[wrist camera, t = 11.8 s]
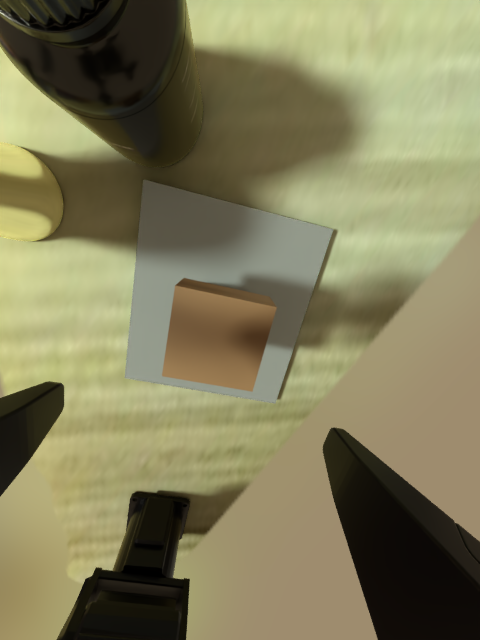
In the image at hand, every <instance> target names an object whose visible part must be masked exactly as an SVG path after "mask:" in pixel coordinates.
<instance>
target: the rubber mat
mask: <svg viewBox="0 0 480 640" xmlns="http://www.w3.org/2000/svg"><path fill="white" fill-rule="evenodd" d="M332 232H333V229H330V228H326V227H323V226H319V225H315V224H311V223H307V222H304V221H300V220H296V219H292V218H288V217H285V216H281V215H277V214H273V213H269V212H266V211H262V210H258V209H254V208H250V207H247V206H243V205H239V204H235V203H231V202H228V201H224V200H220V199H216V198H212V197H209V196H205V195H201V194H197V193H193V192H190V191H186V190H182V189H178V188H174V187H171V186H167V185H163V184H159V183H155V182H152V181H148V180H144V179H143V189H142V199H141V210H140V221H139V231H138V242H137V253H136V263H135V274H134V285H133V295H132V306H131V317H130V327H129V338H128V349H127V359H126V370H125V378H127V379H133V380H139V381H145V382H151V383H157V384H163V385H169V386H175V387H181V388H186V389H192V390H198V391H204V392H210V393H216V394H222V395H228V396H234V397H240V398H246V399H252V400H257V401H263V402H269V403H276V400H277V397H278V394H279V391H280V388H281V385H282V382H283V379H284V376H285V373H286V370H287V367H288V364H289V361H290V358H291V355H292V352H293V349H294V346H295V343H296V340H297V337H298V334H299V331H300V328H301V325H302V322H303V319H304V316H305V313H306V310H307V307H308V304H309V301H310V298H311V295H312V292H313V289H314V286H315V283H316V280H317V277H318V274H319V271H320V268H321V265H322V262H323V259H324V256H325V253H326V250H327V247H328V244H329V241H330V238H331V235H332ZM183 278H187V279H192V280H196V281H201V282H205V283H210V284H215V285H219V286H224V287H228V288H233V289H237V290H242V291H247V292H251V293H256V294H260V295H265V296H269V297H270V298H271V299H272V301H273V302H274V304H275V305H276V307H277V309H276V312H275V316H274V319H273V323H272V326H271V329H270V333H269V336H268V340H267V343H266V347H265V350H264V354H263V357H262V361H261V364H260V367H259V371H258V374H257V378H256V381H255V385H254V388H253V392H251V391H245V390H239V389H234V388H228V387H222V386H216V385H210V384H204V383H198V382H193V381H187V380H181V379H175V378H169V377H163V376H162V372H163V365H164V358H165V351H166V344H167V337H168V331H169V324H170V317H171V310H172V303H173V296H174V290H175V285H176V284H177V283H178V282H180V281H181V280H182V279H183Z"/></svg>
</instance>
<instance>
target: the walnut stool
mask: <svg viewBox="0 0 480 640" xmlns="http://www.w3.org/2000/svg"><path fill="white" fill-rule="evenodd" d="M276 309H277V307H276V305H275V304H274V302H273V301H272V299H271V298H270V297H269V296H265V295H260V294H256V293H251V292H247V291H242V290H237V289H233V288H228V287H224V286H219V285H215V284H210V283H205V282H201V281H196V280H192V279H187V278H183V279H182V280H181V281H180V282H178V283H177V284H176V285H175V290H174V296H173V303H172V310H171V317H170V324H169V331H168V337H167V344H166V351H165V358H164V365H163V372H162V376H163V377H169V378H175V379H181V380H187V381H193V382H198V383H204V384H210V385H216V386H222V387H228V388H234V389H239V390H245V391H251V392H253V388H254V385H255V381H256V378H257V374H258V371H259V367H260V364H261V361H262V357H263V354H264V350H265V347H266V343H267V340H268V336H269V333H270V329H271V326H272V323H273V319H274V316H275V312H276Z"/></svg>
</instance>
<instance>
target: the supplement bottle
mask: <svg viewBox="0 0 480 640" xmlns="http://www.w3.org/2000/svg"><path fill="white" fill-rule="evenodd" d="M0 47H1V49H2V50H3V51H4V53H5V54H6V55H7V57H8V58H9V59H10V61H11V62H12V63H13V64H14V66H15V67H16V68H17V69H18V70H19V71H20V72H21V73H22V74H23V75H24V76H25V77H26V78H27V79H28V80H29V81H30V82H31V83H32V84H33V85H34V86H35V87H36V88H38V89H39V90H40V91H41V92H42V93H43V94H45V95H46V96H47V97H48V98H49V99H51V100H52V101H53V102H54V103H56V104H57V105H58V106H60V107H61V108H62V109H63V110H65V111H66V112H67V113H69V114H70V115H71V116H73V117H74V118H75V119H76V120H78V121H79V122H80V123H82V124H83V125H84V126H85V127H87V128H88V129H89V130H91V131H92V132H93V133H94V134H96V135H97V136H98V137H100V138H101V139H102V140H103V141H105V142H106V143H107V144H109V145H110V146H111V147H112V148H114V149H115V150H116V151H118V152H119V153H121V154H122V155H123V156H125V157H126V158H128V159H129V160H131V161H133V162H135V163H137V164H140V165H143V166H147V167H165V166H169V165H172V164H174V163H176V162H178V161H179V160H181V159H182V158H184V157H185V156H186V155H187V154H188V153H189V151H190V150H191V149H192V147H193V146H194V144H195V142H196V140H197V138H198V136H199V133H200V129H201V125H202V118H203V103H202V95H201V87H200V81H199V75H198V69H197V63H196V57H195V51H194V45H193V39H192V33H191V27H190V21H189V15H188V9H187V3H186V0H0Z"/></svg>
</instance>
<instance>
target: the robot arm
mask: <svg viewBox="0 0 480 640" xmlns="http://www.w3.org/2000/svg"><path fill="white" fill-rule="evenodd" d="M63 408H64V385H63V384H62V383H57V382H50V381H49V382H45V383H42V384H39V385H36V386H33V387H30V388H28V389H25V390H22V391H19V392H16V393H13V394H10V395H7V396H5V397H2V398H0V496H1V495H2V494H3V493H4V491H5V490H6V489H7V488H8V486H9V485H10V484H11V483H12V481H13V480H14V479H15V477H16V476H17V475H18V474H19V473H20V472H21V470H22V469H23V468H24V466H25V465H26V464H27V463H28V461H29V460H30V459H31V457H32V456H33V454H34V453H35V451H36V450H37V448H38V447H39V445H40V444H41V442H42V441H43V439H44V438H45V436H46V435H47V433H48V432H49V430H50V429H51V427H52V426H53V424H54V423H55V422H56V420H57V419H58V417H59V416H60V414H61V412H62V410H63ZM323 454H324V459H325V463H326V468H327V472H328V477H329V481H330V485H331V490H332V494H333V498H334V502H335V505H336V509H337V511H338V515H339V518H340V521H341V524H342V528H343V531H344V534H345V537H346V540H347V543H348V546H349V550H350V553H351V556H352V559H353V562H354V565H355V568H356V571H357V575H358V578H359V581H360V585H361V587H362V591H363V594H364V597H365V600H366V603H367V607H368V610H369V613H370V616H371V619H372V622H373V625H374V629H375V632H376V635H377V638H378V640H480V542H479V541H478V540H477V539H476V538H474V537H473V536H472V535H471V534H470V533H468V532H467V531H466V530H465V529H464V528H462V527H461V526H460V525H459V524H457V523H455V522H454V520H453V519H451V518H450V517H449V516H448V515H447V514H445V513H444V512H443V511H442V510H441V509H439V508H438V507H437V506H436V505H434V504H433V503H432V502H431V501H430V500H428V499H427V498H426V497H425V496H424V495H422V494H421V493H420V492H419V491H418V490H416V489H415V488H414V487H413V486H412V485H410V484H409V483H408V482H407V481H405V480H404V479H403V478H402V477H400V476H399V475H398V474H397V473H396V472H395V471H393V470H392V469H391V468H390V467H389V466H387V465H386V464H385V463H384V462H382V461H381V460H380V459H379V458H378V457H376V456H375V455H374V454H373V453H372V452H370V451H369V450H368V449H367V448H365V447H364V446H363V445H362V444H361V443H360V442H358V441H357V440H356V439H355V438H353V437H352V436H351V435H350V434H349V433H347V432H346V431H345V430H343V429H340V428H331V429H330V431H329V433H328V435H327V438H326V440H325V442H324V445H323ZM189 505H190V501H189V500H188V499H183V498H175V497H166V496H157V495H149V494H140V493H133V494H132V496H131V498H130V504H129V512H128V520H127V528H126V533H125V536H124V539H123V542H122V545H121V548H120V551H119V554H118V556H117V559H116V562H115V565H114V568H113V571H110V570H102V568H97V567H96V569H95V571H94V573H93V575H92V576H91V577H89V578H86V579H85V582H84V584H83V586H82V589H81V591H80V594H79V596H78V598H77V601H76V603H75V605H74V607H73V609H72V611H71V613H70V615H69V617H68V619H67V621H66V623H65V624H64V626H63V629H62V630H61V632H60V634H59V636H58V638H57V640H186V631H187V615H188V598H189V597H188V596H189V581H190V579H185V578H184V580H183V579H175V578H173V574H174V568H175V562H176V556H177V550H178V544H179V540H180V539H181V538H182V535H183V531H184V527H185V522H186V518H187V514H188V510H189Z"/></svg>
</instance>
